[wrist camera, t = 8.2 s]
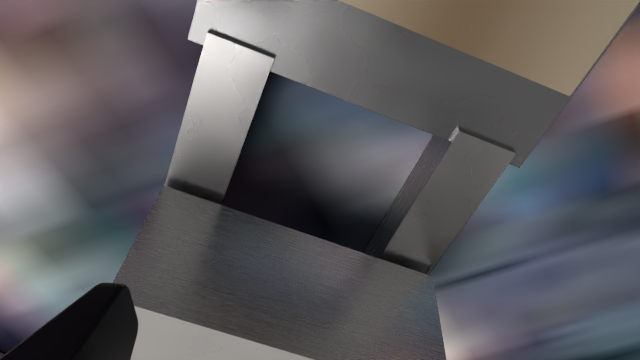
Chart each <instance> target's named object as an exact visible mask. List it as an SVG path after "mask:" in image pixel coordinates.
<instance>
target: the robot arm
mask: <svg viewBox="0 0 640 360" xmlns="http://www.w3.org/2000/svg"><path fill="white" fill-rule="evenodd" d="M137 333H138V318H137V314H136V311H135V307H134V304H133V300H132V297H131V293H130V290H129V288H128V287H127V285H125V284H122V283H100V284H98V285H96V286H95V287H93V288H92V289H91V290H89V291H88V292H87V293H85V294H84V295H83V296H81V297H80V298H79V299H77V300H76V301H75V302H74V303H72V304H71V305H70V306H68V307H67V308H66V309H64V310H63V311H62V312H60V313H59V314H58V315H56V316H55V317H54V318H52V319H51V320H50V321H48V322H47V323H46V324H45V325H43V326H42V327H41V328H39V329H38V330H37V331H35V332H34V333H33V334H31V335H30V336H29V337H27V338H26V339H25V340H23V341H22V342H21V343H20V344H18V345H17V346H16V347H14V348H13V349H12V350H10V351H9V352H8V353H6V354H5V355H4V356H2V357H1V358H0V360H131V356H132V352H133V349H134V345H135V341H136V337H137Z"/></svg>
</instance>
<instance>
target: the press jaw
mask: <svg viewBox="0 0 640 360" xmlns="http://www.w3.org/2000/svg"><path fill="white" fill-rule="evenodd" d="M113 283H122V284H125V285H127V287H128V288H129V290H130V293H131V297H132V300H133V304H134V307H135V311H136V314H137V318H138V333H137V337H136V341H135V345H134V349H133V352H132V356H131V360H446V355H445V349H444V343H443V337H442V331H441V325H440V319H439V313H438V306H437V300H436V294H435V288H434V282H433V277H432V276H429V275H426V274H424V273H421V272H418V271H415V270H412V269H409V268H406V267H403V266H400V265H397V264H394V263H391V262H388V261H385V260H382V259H379V258H376V257H373V256H370V255H367V254H364V253H362V252H359V251H356V250H353V249H350V248H347V247H344V246H341V245H338V244H335V243H332V242H329V241H326V240H323V239H320V238H317V237H314V236H311V235H308V234H305V233H302V232H300V231H297V230H294V229H291V228H288V227H285V226H282V225H279V224H276V223H273V222H270V221H267V220H264V219H261V218H258V217H255V216H252V215H249V214H246V213H243V212H240V211H237V210H235V209H232V208H229V207H226V206H223V205H220V204H217V203H214V202H211V201H208V200H205V199H202V198H199V197H196V196H193V195H190V194H187V193H184V192H181V191H178V190H175V189H173V188H170V187H167V186H164V185H163V187H162V189H161V191H160V193H159V195H158V197H157V199H156V201H155V203H154V204H153V206H152V208H151V210H150V212H149V214H148V216H147V218H146V220H145V222H144V224H143V226H142V228H141V229H140V231H139V233H138V235H137V237H136V239H135V241H134V243H133V245H132V247H131V249H130V251H129V252H128V254H127V256H126V258H125V260H124V262H123V264H122V266H121V268H120V270H119V272H118V274H117V276H116V277H115V279H114V281H113Z"/></svg>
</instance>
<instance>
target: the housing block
mask: <svg viewBox="0 0 640 360" xmlns="http://www.w3.org/2000/svg"><path fill="white" fill-rule="evenodd" d="M339 1H342V2H344V3H346V4H349V5H351V6H354V7H356V8H359V9H361V10H363V11H366V12H368V13H371V14H373V15H375V16H378V17H380V18H383V19H385V20H387V21H390V22H392V23H395V24H397V25H399V26H402V27H404V28H407V29H409V30H411V31H414V32H416V33H419V34H421V35H424V36H426V37H428V38H431V39H433V40H436V41H438V42H440V43H443V44H445V45H448V46H450V47H452V48H455V49H457V50H460V51H462V52H464V53H467V54H469V55H472V56H474V57H476V58H479V59H481V60H484V61H486V62H489V63H491V64H493V65H496V66H498V67H501V68H503V69H505V70H508V71H510V72H513V73H515V74H517V75H520V76H522V77H525V78H527V79H529V80H532V81H534V82H537V83H539V84H541V85H544V86H546V87H549V88H551V89H554V90H556V91H558V92H561V93H563V94H566V95H568V96H571V94H572V93H573V92H574V90H575V89H576V88H577V86H578V85H579V84H580V82H581V81H582V79H583V78H584V77H585V75H586V74H587V73H588V71H589V70H590V69H591V67H592V66H593V64H594V63H595V62H596V60H597V59H598V58H599V56H600V55H601V53H602V52H603V51H604V49H605V48H606V47H607V45H608V44H609V43H610V41H611V40H612V38H613V37H614V36H615V34H616V33H617V32H618V30H619V29H620V27H621V26H622V25H623V23H624V22H625V21H626V19H627V18H628V17H629V15H630V14H631V12H632V11H633V10H634V8H635V7H636V6H637V4H638V3H639V2H640V0H339Z"/></svg>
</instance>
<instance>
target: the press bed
mask: <svg viewBox="0 0 640 360" xmlns="http://www.w3.org/2000/svg"><path fill="white" fill-rule="evenodd" d="M639 5H640V2H639V3H638V4H637V6H636V7H635V8H634V10H633V11H632V12H631V14H630V15H629V17H628V18H627V19H626V21H625V22H624V23H623V25H622V26H621V27H620V29H619V30H618V32H617V33H616V34H615V36H614V37H613V38H612V40H611V41H610V43H609V44H608V45H607V47H606V48H605V49H604V51H603V52H602V53H601V55H600V56H599V58H598V59H597V60H596V62H595V63H594V64H593V66H592V67H591V69H590V70H589V71H588V73H587V74H586V75H585V77H584V78H583V79H582V81H581V82H580V84H579V85H578V86H577V88H576V89H575V90H574V92H573V93H572V94H571V96H568V95H566V94H563V93H561V92H558V91H556V90H554V89H551V88H549V87H546V86H544V85H541V84H539V83H537V82H534V81H532V80H529V79H527V78H525V77H522V76H520V75H517V74H515V73H513V72H510V71H508V70H505V69H503V68H501V67H498V66H496V65H493V64H491V63H489V62H486V61H484V60H481V59H479V58H476V57H474V56H472V55H469V54H467V53H464V52H462V51H460V50H457V49H455V48H452V47H450V46H448V45H445V44H443V43H440V42H438V41H436V40H433V39H431V38H428V37H426V36H424V35H421V34H419V33H416V32H414V31H411V30H409V29H407V28H404V27H402V26H399V25H397V24H395V23H392V22H390V21H387V20H385V19H383V18H380V17H378V16H375V15H373V14H371V13H368V12H366V11H363V10H361V9H359V8H356V7H354V6H351V5H349V4H346V3H344V2H342V1H339V0H198V1H197V5H196V9H195V13H194V17H193V21H192V25H191V28H190V32H189V36H188V40H191V41H193V42H196V43H198V44H201V45H204V46H203V49H202V53H201V57H200V60H199V64H198V67H197V71H196V75H195V78H194V82H193V85H192V89H191V92H190V96H189V100H188V103H187V107H186V110H185V114H184V118H183V121H182V125H181V128H180V132H179V136H178V139H177V143H176V146H175V150H174V154H173V157H172V161H171V164H170V168H169V172H168V175H167V179H166V182H165V186H167V187H170V188H173V189H175V190H178V191H181V192H184V193H187V194H190V195H193V196H196V197H199V198H202V199H205V200H208V201H211V202H214V203H217V204H220V205H221V204H222V201H223V198H224V196H225V193H226V190H227V187H228V185H229V182H230V179H231V176H232V174H233V171H234V168H235V165H236V162H237V160H238V157H239V154H240V151H241V149H242V146H243V143H244V140H245V138H246V135H247V132H248V129H249V127H250V124H251V121H252V118H253V116H254V113H255V110H256V107H257V105H258V102H259V99H260V96H261V94H262V91H263V88H264V85H265V83H266V80H267V77H268V74H269V72H270V71H271V72H273V73H276V74H279V75H281V76H284V77H286V78H289V79H291V80H294V81H297V82H299V83H302V84H304V85H307V86H310V87H312V88H315V89H317V90H320V91H322V92H325V93H328V94H330V95H333V96H335V97H338V98H341V99H343V100H346V101H348V102H351V103H353V104H356V105H359V106H361V107H364V108H366V109H369V110H372V111H374V112H377V113H379V114H382V115H384V116H387V117H390V118H392V119H395V120H397V121H400V122H403V123H405V124H408V125H410V126H413V127H415V128H418V129H421V130H423V131H426V132H428V133H431V134H433V135H434V136H433V137H432V139H431V141H430V142H429V144H428V146H427V147H426V149H425V151H424V152H423V154H422V156H421V157H420V159H419V161H418V162H417V164H416V166H415V167H414V169H413V171H412V172H411V174H410V176H409V177H408V179H407V181H406V182H405V184H404V186H403V187H402V189H401V191H400V192H399V194H398V196H397V197H396V199H395V201H394V202H393V204H392V206H391V207H390V209H389V211H388V212H387V214H386V216H385V217H384V219H383V221H382V222H381V224H380V226H379V227H378V229H377V231H376V232H375V234H374V236H373V237H372V239H371V241H370V242H369V244H368V246H367V247H366V249H365V251H364V252H363V253H364V254H367V255H370V256H373V257H376V258H379V259H382V260H385V261H388V262H391V263H394V264H397V265H400V266H403V267H406V268H409V269H412V270H415V271H418V272H421V273H424V274H426V275H429V274H430V272H431V271H432V270H433V268H434V267H435V265H436V264H437V263H438V261H439V260H440V258H441V257H442V256H443V254H444V253H445V252H446V250H447V249H448V247H449V246H450V245H451V243H452V242H453V240H454V239H455V238H456V236H457V235H458V233H459V232H460V231H461V229H462V228H463V227H464V225H465V224H466V222H467V221H468V220H469V218H470V217H471V215H472V214H473V213H474V211H475V210H476V209H477V207H478V206H479V204H480V203H481V202H482V200H483V199H484V197H485V196H486V195H487V193H488V192H489V190H490V189H491V188H492V186H493V185H494V184H495V182H496V181H497V179H498V178H499V177H500V175H501V174H502V172H503V171H504V170H505V168H506V167H507V165H508V164H511V165H514V166H516V167H519V168H520V166H521V165H522V163H523V162H524V161H525V159H526V158H527V157H528V155H529V154H530V153H531V151H532V150H533V149H534V147H535V146H536V145H537V143H538V142H539V140H540V139H541V138H542V136H543V135H544V134H545V132H546V131H547V130H548V128H549V127H550V126H551V124H552V123H553V121H554V120H555V119H556V117H557V116H558V115H559V113H560V112H561V111H562V109H563V108H564V107H565V105H566V104H567V103H568V101H569V100H570V98H571V97H572V96H573V94H574V93H575V92H576V90H577V89H578V88H579V86H580V85H581V84H582V82H583V81H584V80H585V78H586V77H587V75H588V74H589V73H590V71H591V70H592V69H593V67H594V66H595V65H596V63H597V62H598V61H599V59H600V58H601V56H602V55H603V54H604V52H605V51H606V50H607V48H608V47H609V46H610V44H611V43H612V42H613V40H614V39H615V38H616V36H617V35H618V33H619V32H620V31H621V29H622V28H623V27H624V25H625V24H626V23H627V21H628V20H629V19H630V17H631V16H632V15H633V13H634V12H635V10H636V9H637V8H638V6H639Z"/></svg>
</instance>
